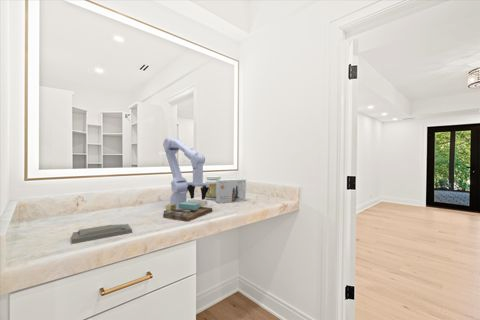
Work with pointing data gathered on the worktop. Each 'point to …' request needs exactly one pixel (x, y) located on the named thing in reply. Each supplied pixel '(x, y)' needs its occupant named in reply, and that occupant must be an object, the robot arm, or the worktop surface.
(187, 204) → the teal button
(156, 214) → the worktop surface
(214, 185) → the supplement tub
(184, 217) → the panel
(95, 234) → the soap mold
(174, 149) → the robot arm
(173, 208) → the brass slider
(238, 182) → the skincare box
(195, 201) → the white rectangular block
